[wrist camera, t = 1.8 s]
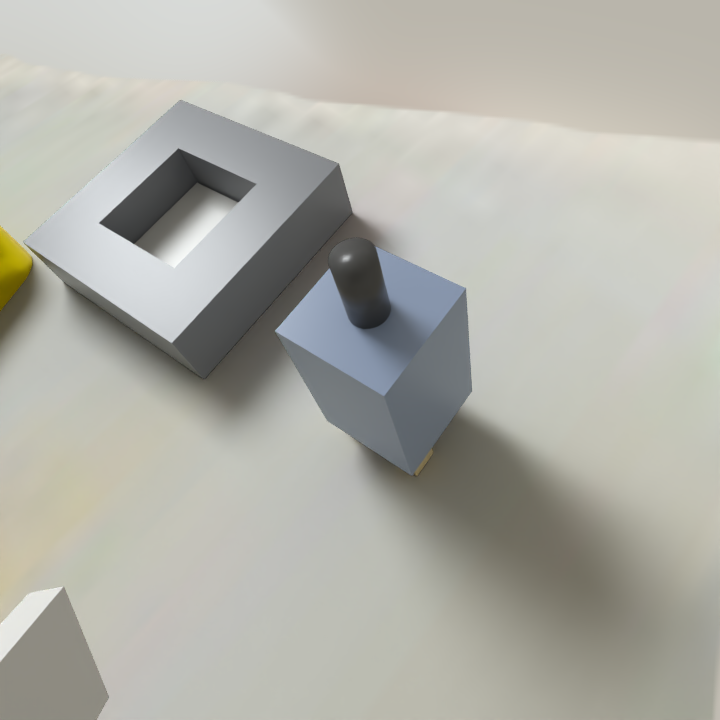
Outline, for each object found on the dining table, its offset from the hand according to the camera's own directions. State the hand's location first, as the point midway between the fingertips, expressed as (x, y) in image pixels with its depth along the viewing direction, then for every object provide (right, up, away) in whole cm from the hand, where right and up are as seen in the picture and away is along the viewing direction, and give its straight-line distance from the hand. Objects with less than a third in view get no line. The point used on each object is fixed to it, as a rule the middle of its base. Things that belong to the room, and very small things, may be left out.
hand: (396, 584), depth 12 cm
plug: (+1, +1, +19) cm, 19 cm away
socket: (-11, +12, +27) cm, 31 cm away
